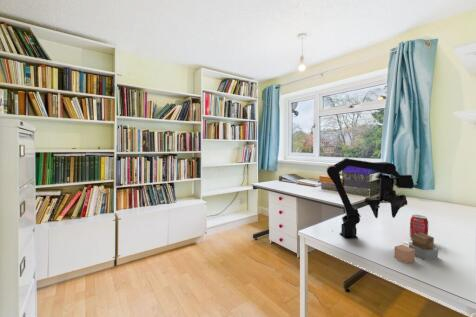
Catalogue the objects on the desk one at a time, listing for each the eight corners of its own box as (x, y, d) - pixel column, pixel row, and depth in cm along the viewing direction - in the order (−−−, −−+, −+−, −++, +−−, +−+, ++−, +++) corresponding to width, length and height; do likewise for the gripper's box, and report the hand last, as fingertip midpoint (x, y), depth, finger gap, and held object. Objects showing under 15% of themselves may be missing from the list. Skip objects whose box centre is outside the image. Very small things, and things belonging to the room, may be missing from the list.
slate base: (425, 260, 91) (425, 251, 91) (408, 252, 98) (408, 244, 98) (437, 258, 93) (438, 249, 93) (420, 250, 100) (420, 242, 100)
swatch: (416, 249, 100) (416, 248, 100) (403, 242, 107) (403, 241, 107) (430, 248, 101) (430, 247, 101) (416, 241, 108) (416, 240, 108)
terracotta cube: (406, 263, 89) (407, 251, 89) (394, 257, 94) (394, 246, 94) (414, 261, 91) (414, 249, 91) (401, 255, 96) (402, 244, 95)
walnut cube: (423, 250, 92) (424, 238, 92) (412, 244, 97) (412, 233, 97) (433, 248, 93) (433, 237, 93) (421, 243, 98) (422, 232, 98)
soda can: (418, 237, 113) (420, 214, 113) (431, 242, 106) (432, 218, 106) (405, 236, 113) (407, 214, 113) (417, 242, 106) (418, 218, 106)
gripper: (380, 191, 100) (378, 224, 101) (418, 190, 101) (416, 223, 103) (364, 186, 111) (363, 216, 112) (398, 185, 113) (397, 215, 114)
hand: (384, 217), depth 110 cm, fingers open, 9 cm apart
